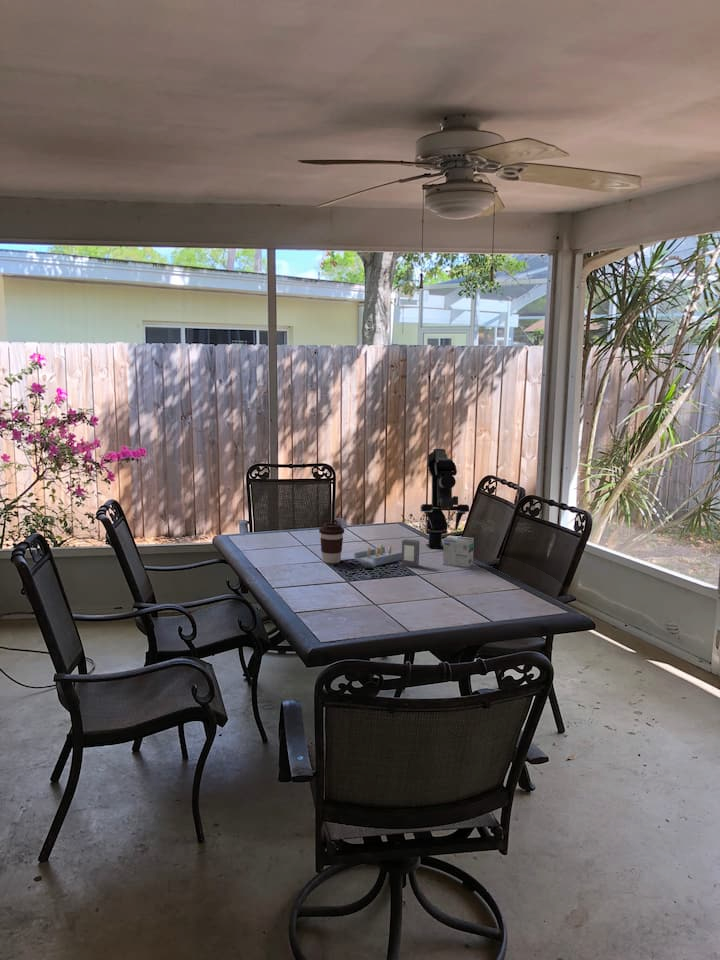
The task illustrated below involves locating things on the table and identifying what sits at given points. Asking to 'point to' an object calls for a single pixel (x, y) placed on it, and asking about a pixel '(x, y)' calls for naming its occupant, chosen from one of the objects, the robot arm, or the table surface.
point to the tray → (377, 556)
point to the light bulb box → (458, 551)
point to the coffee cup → (331, 542)
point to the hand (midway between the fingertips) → (444, 530)
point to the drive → (410, 553)
